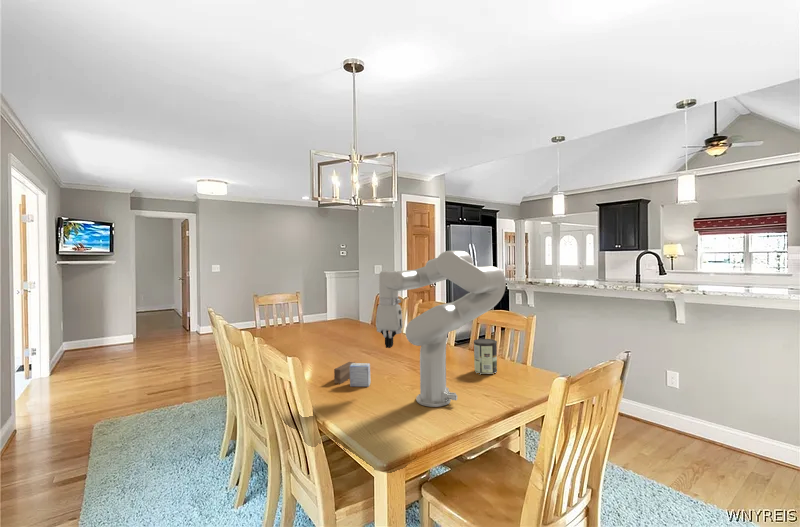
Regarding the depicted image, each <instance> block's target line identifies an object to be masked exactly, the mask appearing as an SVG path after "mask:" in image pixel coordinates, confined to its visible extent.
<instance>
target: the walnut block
mask: <svg viewBox="0 0 800 527" xmlns="http://www.w3.org/2000/svg"><path fill="white" fill-rule="evenodd" d="M352 363H356V362H355V361H348V362H346V363H344V364H342V365H339V366H338V367H336V368H334V370H333V372H334V374H333V376H334V384H337V383H339V385H342V384H343V383H344V382H347V381H348V379H349V380H350V365H351V364H352Z"/></svg>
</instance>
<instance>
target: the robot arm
mask: <svg viewBox="0 0 800 527" xmlns="http://www.w3.org/2000/svg"><path fill="white" fill-rule="evenodd" d="M473 262H474V260H473V257H472V256H471V255H470V254H469V253H468V252H467V251H464V250H446V251H444V252H441V253H440V254H439V255H438V256H437V257H435V258H433V259H429V260H428V261H427V262H426V263H425V265H424V266H422V267H419V268H416V269H409V270H408V269H407V270H399V271H398V270H397V271H396V270H383V271H380V272H379V275H378V277H379V280H378V281H379V282H378V284H379V285H378V286H379V287H378V288H379V289H378V290H379V294H378V295H379V297H378V299H379V300H378V301H379V302H378V303H379V304H378V305H377V309H376V316H375V317H376V318H375V327H376V332H377V333H380V334H381V335H382V336H383V338H384V346H385V348H386V349H391V348H392V347H393V346H394V337H395V336H396V335H399V334H402V333H403V331H402V329H403V326H404V325H403V324H404V323H403V312H402V307H401V305H400V303H402V299H400V298H399V292H401V291H407V290H416V289H420V288H423V287H426V286H430V285H432V284H437V283H440V282H442V281H446V280H449V281H450V282H452V283H453V284H454V285H457V286H458V287H460V288H462V289H463V290H464V291H466V292H468V293H466V294H464V295H463V296H461V297H460V298H458V299H456V300H455V301H452V302H447V303H443V304H439V305H435V306H434V307H431V308H429V309H428V310H426V311H424V312H422V313H421V314H419V315H417V316H416V317H414V318H413V319H411V320H410V321H408V323H407V325H406V327H405V338H406V339H407V342H409V343H410V344H411V345H413V346H417V347H420V350H419V375H420V376H419V377H420V378H419V381H420V382H419V384H420V385H419V387H420V388H419V389H420V394H419V393H418V395H417V396H416V397H415V398H416V402H417V404H419V405H421V406H424V407H431V408H439V407H444V406H446V405H449V404H450V403H451V401H457V400H458V394H457V392H453V391H452V392H451V391H450V390H449V387H447V340H448V334H449V333H450V332H451V333H452V332H453V331H457V330H458V329H460V328H462V327H464V326H465V325H467V324H468V323H470V322H472V321H474V320H475V319H477V318H479V317H480V316H482V315H484V314H486V313H487V312H489V311H490V310H491V309H493V308H495V307H496V306H497V305H498V304H499V302H500V301H501V300H502V298H503V297H504V295H505V292H506V287H507V286H506V285H507V281H506V276H505V273H504V271H502V270H501V269H500V268H498V267H496V266H492V265H484V266H483V265H482V266H476V265H474V264H473Z"/></svg>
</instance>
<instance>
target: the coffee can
mask: <svg viewBox="0 0 800 527" xmlns="http://www.w3.org/2000/svg"><path fill="white" fill-rule="evenodd" d="M497 342H498V341H497V340H496V339H491V338H477V339H474V340H473V350H474V351H473V356H474V358H473V359H474V367H473V368H474V370H475V372H476V373H475V372H474V373H475V374H477V373H480V374H479V375H481V374H493V373H496V372H497V373H498V357H497V355H498V354H497V349H498V348H497V346H498V345H497ZM497 373H496V374H497ZM493 375H494V374H493Z"/></svg>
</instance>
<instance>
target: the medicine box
mask: <svg viewBox="0 0 800 527" xmlns="http://www.w3.org/2000/svg"><path fill="white" fill-rule="evenodd" d="M371 382H372V381H371V363H369V362H368V363H367V362H366V363H365V362H364V363H363V362H361V363H360V362H358V363H357V362H355V363H352V364H351V365H350V379H349V384H350V385H349V386H350V387H367V388H368V387H370V385H371Z"/></svg>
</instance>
